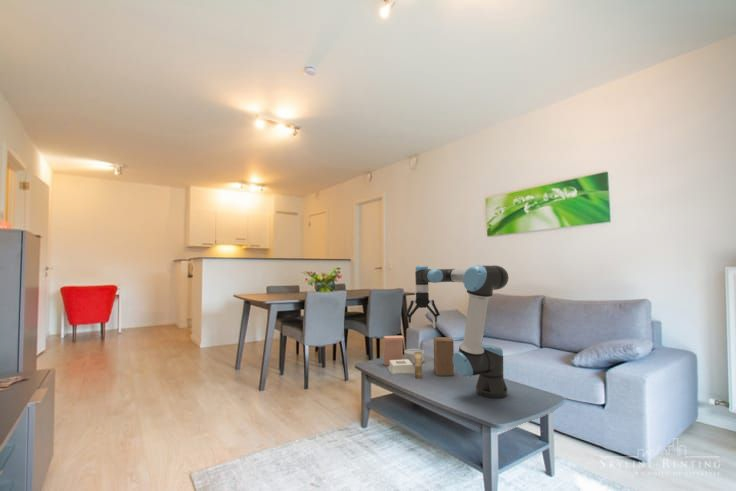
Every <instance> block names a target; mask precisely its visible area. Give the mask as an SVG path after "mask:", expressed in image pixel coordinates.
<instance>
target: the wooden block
mask: <svg viewBox="0 0 736 491" xmlns="http://www.w3.org/2000/svg"><path fill="white" fill-rule="evenodd" d="M454 347H455V346H454V340H453V339H452V338H451V337H450V336H449V337H444V336H443V337H442V336H440V337H439V336H438V337H435V336H434V337H433V371H434V373H435V374H436V376H442V377H443V376H453V377H454V375H455V367H454V365H453V355H454V353H455V351H454V350H455V349H454Z"/></svg>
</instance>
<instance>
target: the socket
mask: <svg viewBox="0 0 736 491" xmlns="http://www.w3.org/2000/svg"><path fill="white" fill-rule="evenodd" d="M387 370H388V371H389V373H390V374H391V375H394V376H395V375H397V376H398V375H399V376H400V375H415V369H414V364H412V363H411V362H410V361H409V360H408V359H404V358H403V360H389V365H387Z"/></svg>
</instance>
